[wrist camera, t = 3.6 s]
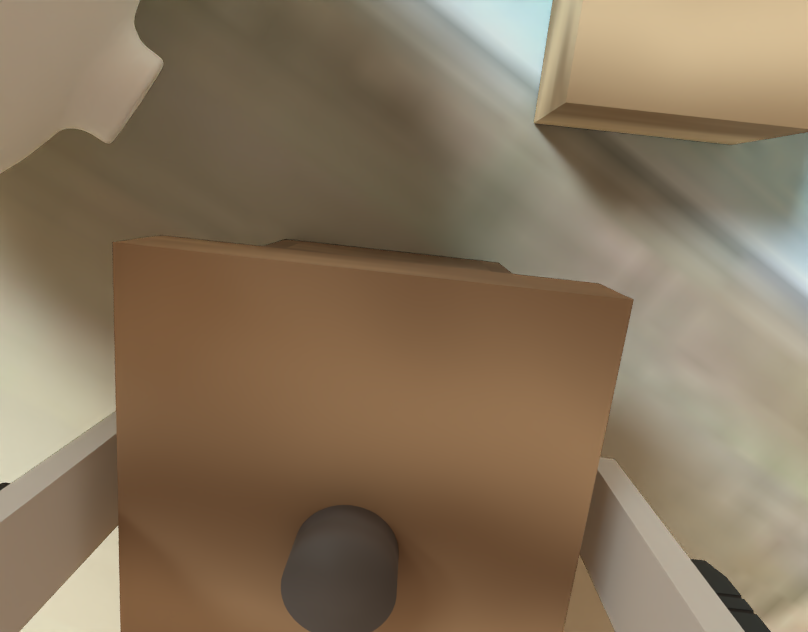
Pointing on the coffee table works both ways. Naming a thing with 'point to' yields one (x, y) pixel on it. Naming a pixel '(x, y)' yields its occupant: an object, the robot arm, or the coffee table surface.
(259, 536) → the lid
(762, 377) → the coffee table surface
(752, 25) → the light wooden block
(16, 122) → the decorative ball
